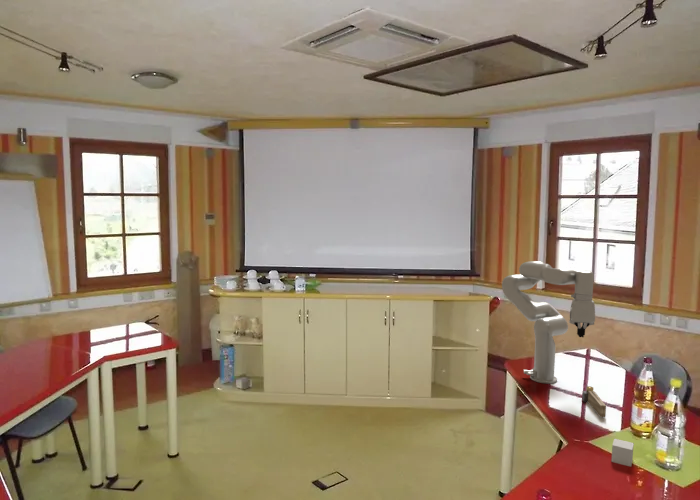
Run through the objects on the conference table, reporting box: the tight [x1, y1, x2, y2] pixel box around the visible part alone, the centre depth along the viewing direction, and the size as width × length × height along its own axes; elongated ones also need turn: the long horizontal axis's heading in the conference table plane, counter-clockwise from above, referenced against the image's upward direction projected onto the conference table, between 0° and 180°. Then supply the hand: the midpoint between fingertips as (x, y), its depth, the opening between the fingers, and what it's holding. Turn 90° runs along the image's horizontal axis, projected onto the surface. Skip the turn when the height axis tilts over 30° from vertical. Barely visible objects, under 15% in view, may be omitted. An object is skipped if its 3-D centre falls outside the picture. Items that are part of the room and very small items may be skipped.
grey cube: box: [611, 438, 634, 467], centre depth 175 cm, size 6×6×6 cm
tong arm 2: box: [592, 390, 607, 418], centre depth 217 cm, size 1×16×5 cm, turn 170°
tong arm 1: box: [587, 391, 604, 418], centre depth 218 cm, size 1×16×5 cm, turn 171°
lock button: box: [585, 385, 594, 392], centre depth 227 cm, size 3×3×2 cm
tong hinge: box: [581, 390, 588, 403], centre depth 228 cm, size 5×3×4 cm, turn 80°
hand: (580, 336), depth 235 cm, fingers closed
